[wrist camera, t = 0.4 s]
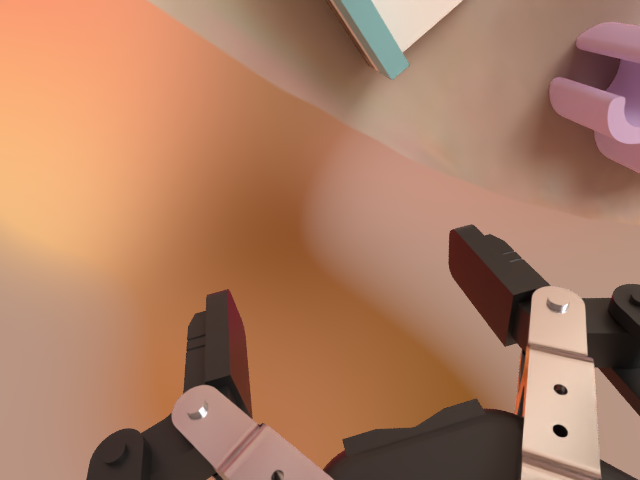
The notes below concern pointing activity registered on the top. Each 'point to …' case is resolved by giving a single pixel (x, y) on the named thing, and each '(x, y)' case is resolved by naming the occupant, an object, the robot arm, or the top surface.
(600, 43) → the clip
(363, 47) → the slide cover
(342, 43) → the top surface
